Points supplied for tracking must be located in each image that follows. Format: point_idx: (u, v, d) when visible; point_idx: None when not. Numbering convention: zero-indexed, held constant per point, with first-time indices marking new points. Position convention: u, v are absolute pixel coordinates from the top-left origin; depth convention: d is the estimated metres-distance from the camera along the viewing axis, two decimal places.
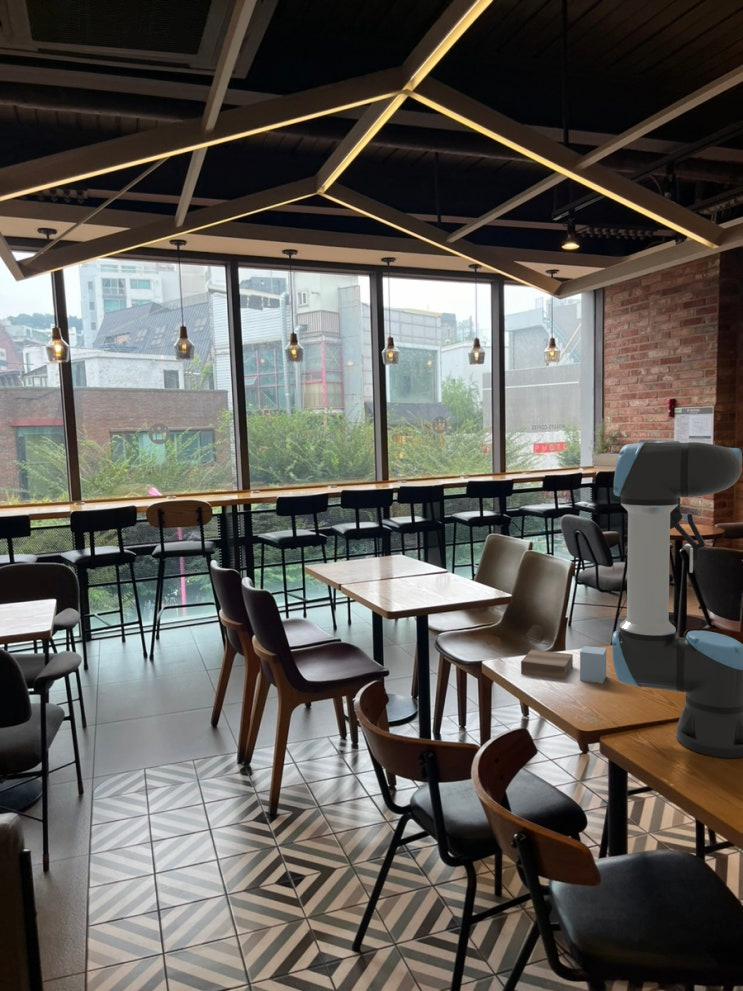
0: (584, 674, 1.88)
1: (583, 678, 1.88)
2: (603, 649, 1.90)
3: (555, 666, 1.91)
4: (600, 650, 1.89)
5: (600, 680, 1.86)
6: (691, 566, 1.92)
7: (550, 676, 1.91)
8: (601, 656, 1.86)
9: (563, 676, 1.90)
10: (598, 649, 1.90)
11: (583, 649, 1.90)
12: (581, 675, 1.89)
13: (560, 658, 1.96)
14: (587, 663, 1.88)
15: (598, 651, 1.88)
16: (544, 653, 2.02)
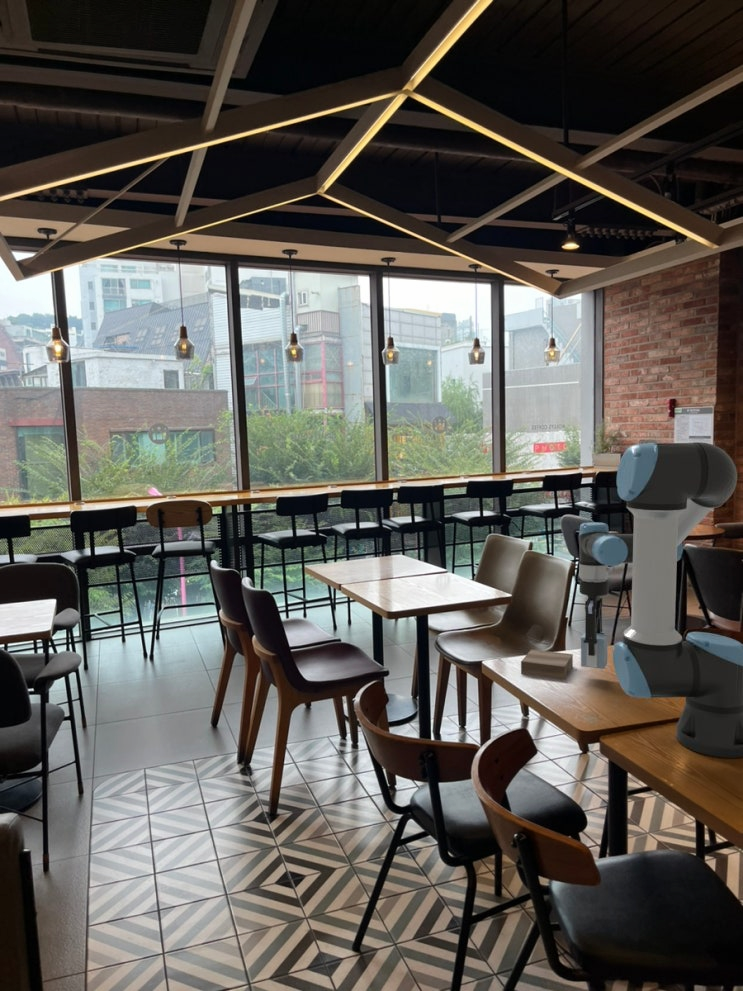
0: (585, 659, 1.87)
1: (584, 664, 1.87)
2: (604, 635, 1.89)
3: (555, 666, 1.91)
4: (600, 636, 1.88)
5: (601, 665, 1.85)
6: None
7: (550, 676, 1.91)
8: (602, 641, 1.85)
9: (563, 676, 1.90)
10: (599, 635, 1.89)
11: (584, 635, 1.89)
12: (582, 661, 1.88)
13: (560, 658, 1.96)
14: None
15: (599, 636, 1.87)
16: (544, 653, 2.02)
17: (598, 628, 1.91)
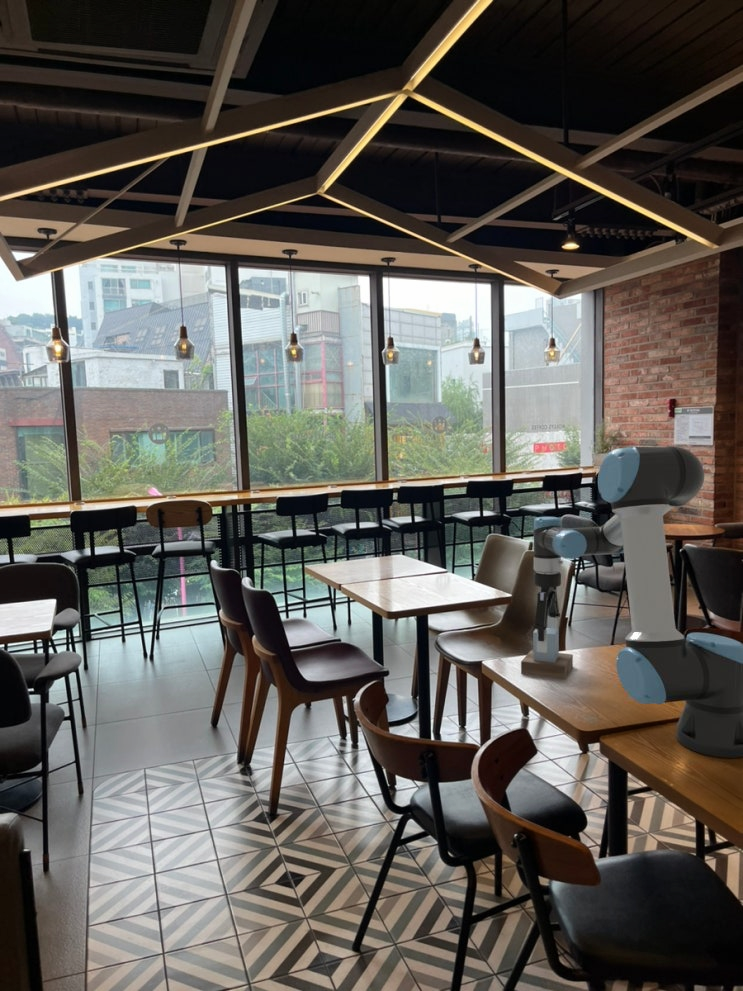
0: (537, 653, 1.95)
1: (536, 657, 1.95)
2: (555, 629, 1.97)
3: (555, 666, 1.91)
4: (552, 631, 1.96)
5: (552, 659, 1.93)
6: None
7: (550, 676, 1.91)
8: (553, 636, 1.93)
9: (563, 676, 1.90)
10: (550, 629, 1.97)
11: (536, 630, 1.97)
12: (534, 655, 1.96)
13: (560, 659, 1.96)
14: None
15: (550, 631, 1.95)
16: None
17: (554, 611, 2.01)
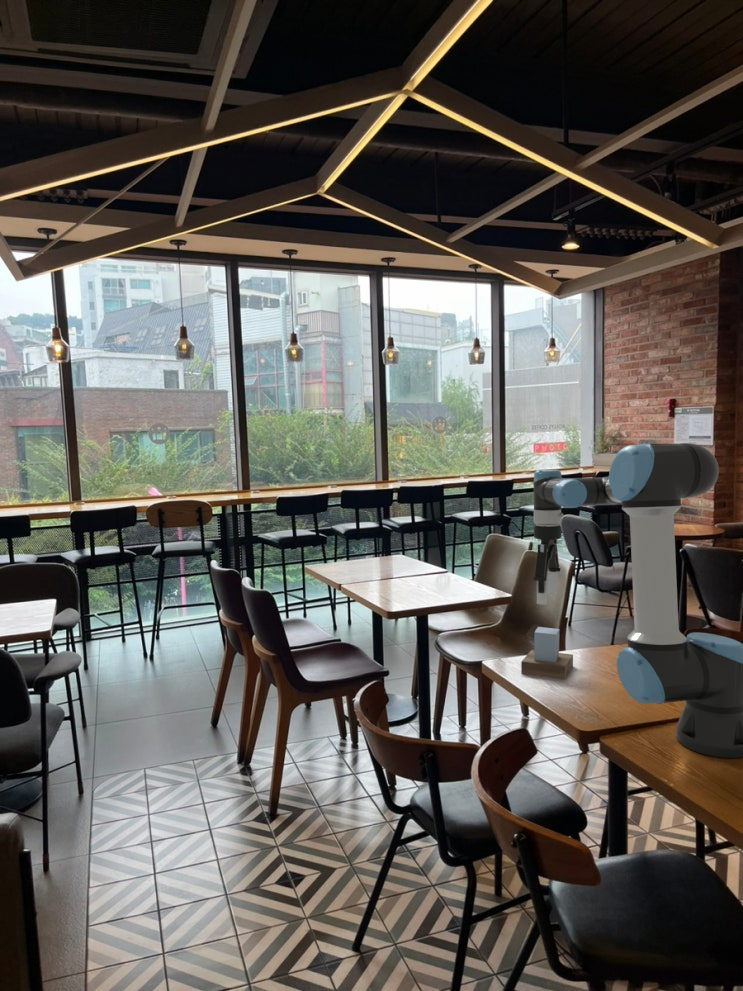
0: (538, 653, 1.95)
1: (537, 657, 1.95)
2: (556, 630, 1.97)
3: (555, 666, 1.91)
4: (553, 631, 1.96)
5: (553, 659, 1.94)
6: (537, 597, 1.90)
7: (550, 676, 1.91)
8: (554, 636, 1.93)
9: (563, 676, 1.90)
10: (551, 630, 1.97)
11: (537, 630, 1.97)
12: (535, 654, 1.95)
13: (560, 659, 1.96)
14: (541, 642, 1.95)
15: (551, 631, 1.95)
16: None
17: (554, 566, 2.00)
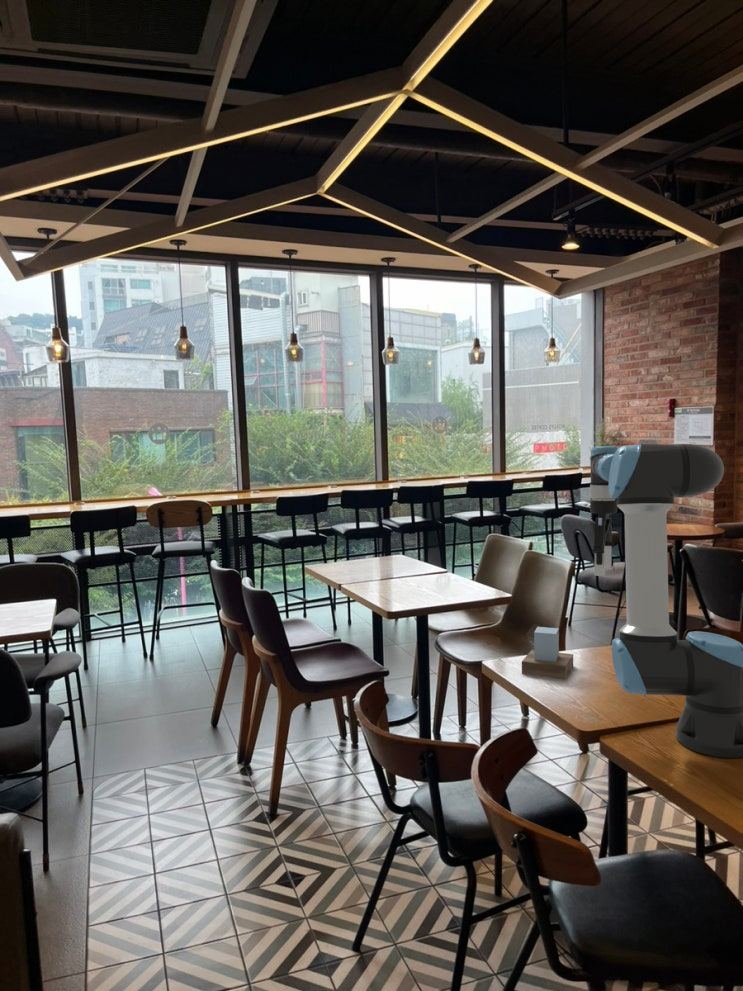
0: (538, 653, 1.95)
1: (537, 657, 1.95)
2: (555, 629, 1.97)
3: (556, 666, 1.91)
4: (552, 630, 1.96)
5: (553, 659, 1.94)
6: None
7: (551, 676, 1.91)
8: (554, 635, 1.93)
9: (564, 676, 1.90)
10: (551, 629, 1.97)
11: (537, 629, 1.97)
12: (535, 654, 1.96)
13: (561, 658, 1.96)
14: (540, 642, 1.95)
15: (551, 631, 1.96)
16: None
17: (608, 540, 2.07)
